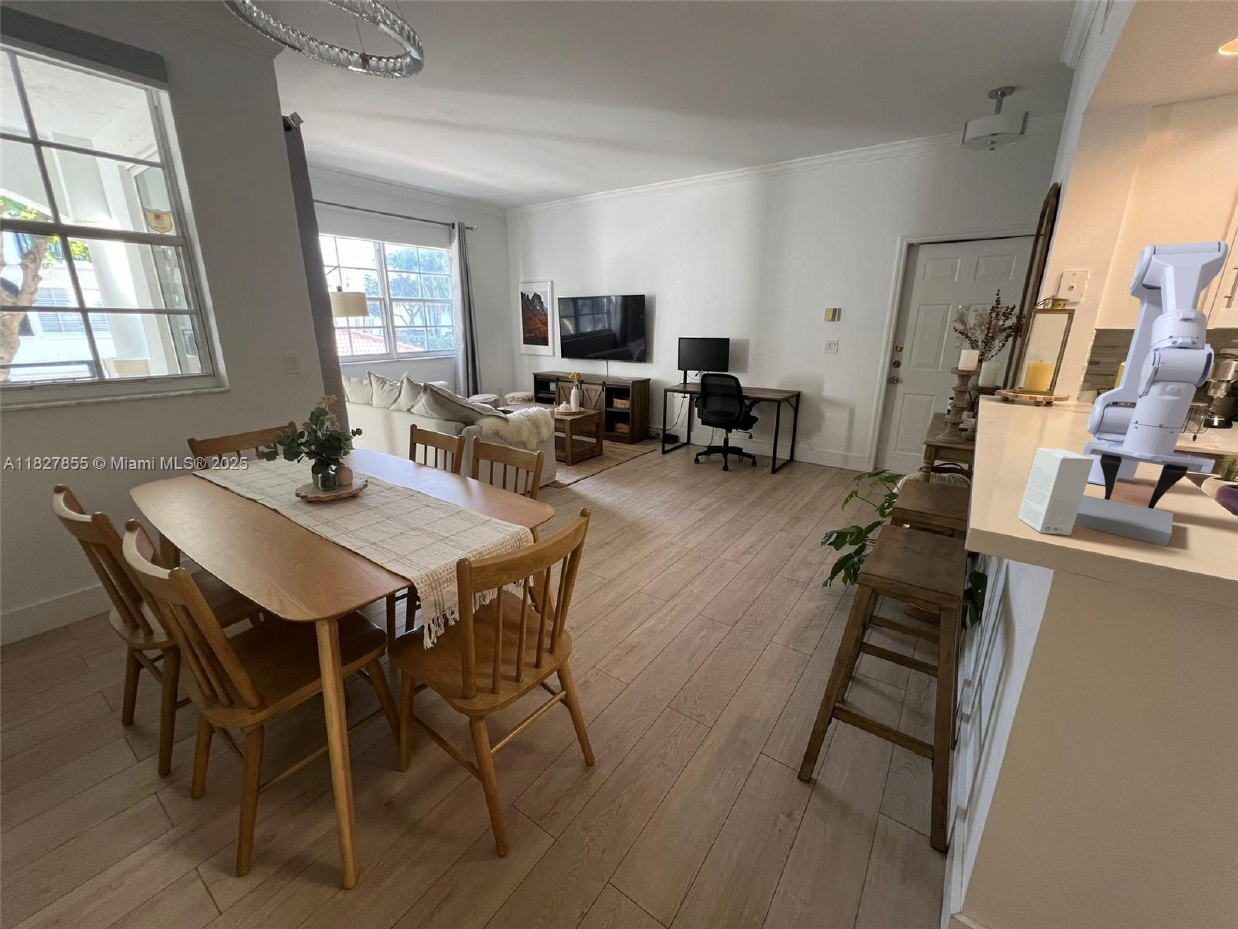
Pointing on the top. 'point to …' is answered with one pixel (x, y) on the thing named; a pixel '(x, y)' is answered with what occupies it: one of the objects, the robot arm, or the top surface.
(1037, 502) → the skincare box
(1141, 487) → the terracotta cube
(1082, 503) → the slate base board
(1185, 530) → the top surface
